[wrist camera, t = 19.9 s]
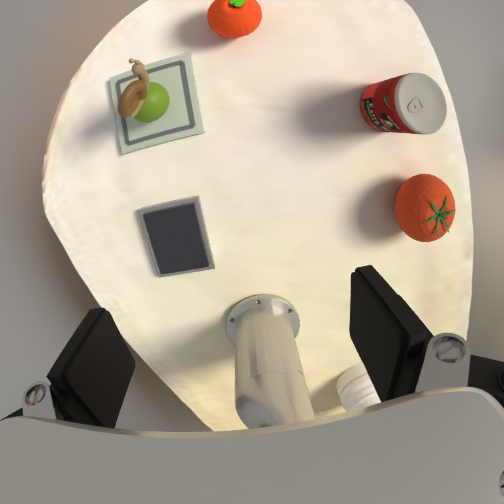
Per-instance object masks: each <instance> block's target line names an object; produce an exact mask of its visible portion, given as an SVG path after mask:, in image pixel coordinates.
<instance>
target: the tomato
mask: <svg viewBox="0 0 504 504" xmlns="http://www.w3.org/2000/svg"><path fill="white" fill-rule="evenodd" d="M455 210H456V209H455V201H454V197H453V195H452V193H451V190H450V189H449V187H448V186H447V185H446V184H445V183H444V182H443V181H442V180H441V179H439V178H437V177H436V176H433V175H429V174H419V175H416V176H413V177H411V178H409V179H408V180H407V181H406V182H404V184H403V185H402V186H401V187H400V189H399V191H398V193H397V196H396V200H395V214H396V218H397V221H398V223H399V225H400V227H401V229H402V230H403V231H404V232H405V233H406V234H407V235H408V236H409V237H411V238H412V239H414V240H417V241H421V242H431V241H434V240H437V239H439V238H441V237H442V236H443V235H444V234H445V233H446V232H447V231H448V233H449V228H450V226H451V225H452V222H453V219H454V215H455Z"/></svg>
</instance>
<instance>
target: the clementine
mask: <svg viewBox="0 0 504 504" xmlns="http://www.w3.org/2000/svg"><path fill="white" fill-rule="evenodd" d="M207 18H208V22H209V24H210V26H211V28H212V29H213V30H214V31H215V32H216V33H218V34H220V35H222V36H225V37H232V38H237V37H243V36H246V35H248V34H250V33H252V32H253V31H254V30H255V29H256V28H257V27H258V26H259V24H260V22H261V19H262V11H261V7H260V5H259V4H258V2H257V1H256V0H215V1H214V2H213V3H212V4H211V6H210V7H209V9H208V15H207Z"/></svg>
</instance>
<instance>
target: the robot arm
mask: <svg viewBox="0 0 504 504" xmlns="http://www.w3.org/2000/svg"><path fill="white" fill-rule="evenodd" d="M299 328H300V319H299V315H298V313H297V311H296V309H295V307H294V306H293V305H292V304H291V303H290V302H288V301H287V300H285V299H283V298H281V297H278V296H274V295H255V296H252V297H249V298H246V299H244V300H242V301H241V302H239V303H238V304H236V305H235V306H234V308H233V309H232V310H231V311H230V313H229V315H228V318H227V322H226V332H227V335H228V337H229V339H230V341H231V342H232V343H233V344H234V345H235V407H236V411H237V413H238V415H239V417H240V419H241V420H242V422H243V423H244V424H245V425H246V426H247V427H248V428H249V429H243V430H232V431H216V432H152V431H136V430H123V429H114V428H115V425H116V421H117V418H118V415H119V412H120V409H121V406H122V403H123V400H124V397H125V394H126V391H127V388H128V386H129V383H130V380H131V377H132V374H133V372H134V369H135V361H134V358H133V357H132V355H131V353H130V351H129V349H128V348H127V345H126V344H125V342H124V340H123V338H122V336H121V334H120V332H119V330H118V328H117V326H116V324H115V322H114V320H113V318H112V316H111V314H110V312H109V311H107V310H106V309H105V308H95V309H91V310H90V311H89V312H88V314H87V315H86V316H85V318H84V319H83V321H82V322H81V324H80V325H79V327H78V328H77V329H76V331H75V332H74V334H73V335H72V337H71V338H70V340H69V341H68V343H67V344H66V346H65V348H64V349H63V351H62V352H61V354H60V355H59V357H58V358H57V360H56V362H55V363H54V365H53V367H52V368H51V370H50V372H49V373H48V375H47V378H48V379H49V381H50V382H51V385H50V386H49V385H48V384H47V383H46V382H43V381H40V382H36V383H34V384H32V385H31V386H29V387H28V388H27V389H26V391H25V392H24V394H23V397H22V408H21V409H19V410H17V411H15V412H14V413H12V414H10V415H8V416H7V417H5V418H3V419H2V420H0V504H504V362H501V361H497V360H492V359H488V358H484V357H479V356H475V355H471V354H470V347H469V345H468V343H467V341H466V340H465V339H464V338H462V337H460V336H459V335H456V334H453V333H441V334H438V335H436V336H433V335H432V333H431V332H430V331H429V330H428V328H427V327H426V326H425V325H424V323H423V322H422V321H421V320H420V319H419V317H418V316H417V315H416V314H415V313H414V311H413V310H412V309H411V308H410V307H409V305H408V304H407V303H406V302H405V301H404V300H403V298H402V297H401V296H400V295H398V294H397V293H396V292H395V291H394V290H393V289H392V288H391V286H390V285H389V284H388V283H387V282H386V281H385V280H384V278H383V277H382V276H381V275H380V274H379V273H378V272H377V271H376V270H375V268H374V267H373V266H372V265H368V266H363V267H358V268H356V269H355V272H353V273H351V301H350V327H349V331H350V337H351V339H352V341H353V344H354V346H355V348H356V350H357V352H358V354H359V356H360V358H361V360H362V362H363V364H364V366H365V369H366V371H367V373H368V375H369V377H370V379H371V382H372V384H373V386H374V388H375V390H376V393H377V395H378V397H379V399H380V401H381V402H380V403H377V404H374V405H370V406H367V407H363V408H360V409H356V410H352V411H348V412H344V413H340V414H335V415H331V416H326V417H322V418H317V419H316V417H315V414H314V411H313V407H312V404H311V400H310V396H309V392H308V388H307V385H306V381H305V377H304V373H303V368H302V364H301V360H300V356H299V353H298V349H297V345H296V341H295V338H296V336H297V334H298V332H299Z"/></svg>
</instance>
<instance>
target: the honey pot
mask: <svg viewBox="0 0 504 504" xmlns="http://www.w3.org/2000/svg"><path fill="white" fill-rule="evenodd" d="M336 389H337V393H338V396H339V399H340V401H341V404H342V407H343V408H344V409H345V410H346V411H347V412H348V411H352V410H356V409H360V408H363V407H367V406H370V405H374V404H377V403H380V402H381V401H380V399H379V397H378V395H377V393H376V390H375V388H374V386H373V384H372V382H371V379H370V377H369V375H368V373H367V371H366V369H365V366H364V364H363V362H360V363H357V364H355V365H354V366H352V367H350V368H349V369H347V370H346V371H345V372H344V373H343V374H342V375H341V376H340V377H339V379H338V381H337V384H336Z"/></svg>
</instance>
